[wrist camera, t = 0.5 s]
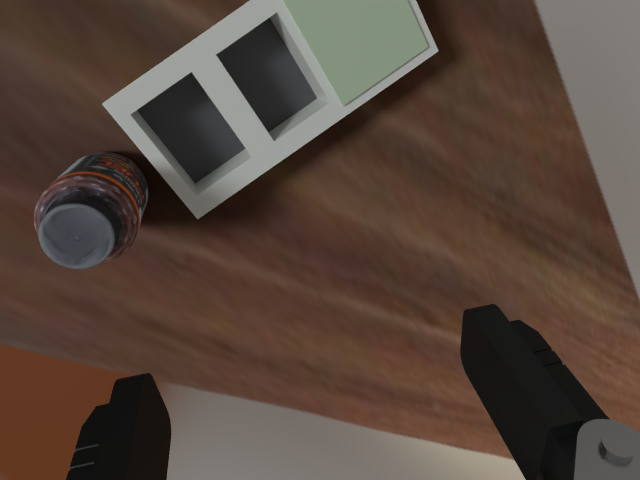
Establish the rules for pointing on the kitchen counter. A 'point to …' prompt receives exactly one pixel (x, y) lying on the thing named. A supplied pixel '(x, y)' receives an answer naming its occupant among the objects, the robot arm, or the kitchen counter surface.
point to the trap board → (265, 88)
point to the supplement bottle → (91, 211)
